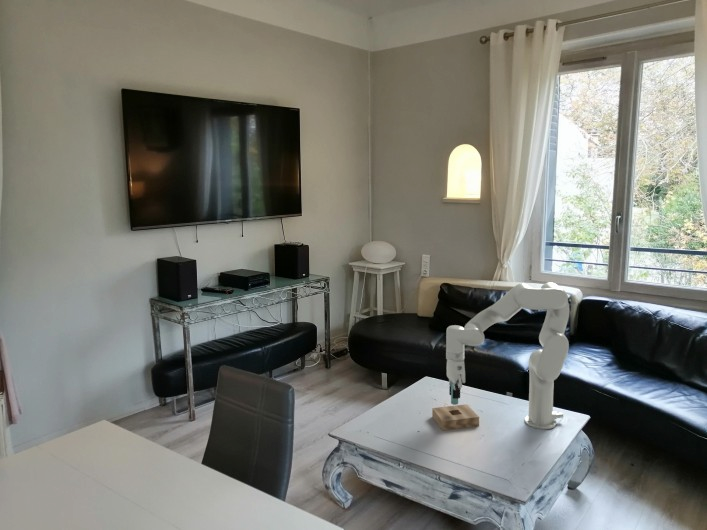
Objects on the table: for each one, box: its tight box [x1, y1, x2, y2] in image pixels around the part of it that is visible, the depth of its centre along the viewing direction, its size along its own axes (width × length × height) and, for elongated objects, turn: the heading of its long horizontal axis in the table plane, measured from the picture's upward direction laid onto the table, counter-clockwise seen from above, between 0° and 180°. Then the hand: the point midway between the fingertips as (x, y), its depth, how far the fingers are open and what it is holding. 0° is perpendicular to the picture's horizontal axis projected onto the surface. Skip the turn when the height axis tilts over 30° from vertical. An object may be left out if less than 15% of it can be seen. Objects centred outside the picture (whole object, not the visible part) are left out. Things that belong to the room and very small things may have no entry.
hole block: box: [431, 403, 480, 431], centre depth 231 cm, size 16×13×4 cm
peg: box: [450, 381, 459, 406], centre depth 229 cm, size 3×3×10 cm
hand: (454, 396), depth 229 cm, fingers closed on peg, 3 cm apart
